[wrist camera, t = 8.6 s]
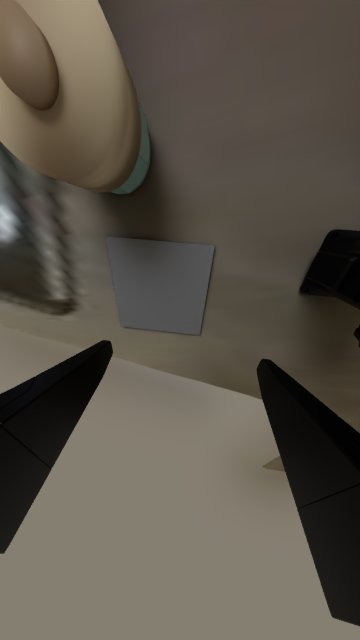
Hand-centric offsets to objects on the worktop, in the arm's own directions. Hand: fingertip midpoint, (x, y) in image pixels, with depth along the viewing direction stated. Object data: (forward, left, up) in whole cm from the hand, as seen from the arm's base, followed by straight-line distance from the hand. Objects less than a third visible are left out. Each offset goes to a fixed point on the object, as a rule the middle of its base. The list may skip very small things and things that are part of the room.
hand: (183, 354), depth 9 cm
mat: (+4, +1, -12) cm, 13 cm away
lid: (+8, -12, -8) cm, 16 cm away
